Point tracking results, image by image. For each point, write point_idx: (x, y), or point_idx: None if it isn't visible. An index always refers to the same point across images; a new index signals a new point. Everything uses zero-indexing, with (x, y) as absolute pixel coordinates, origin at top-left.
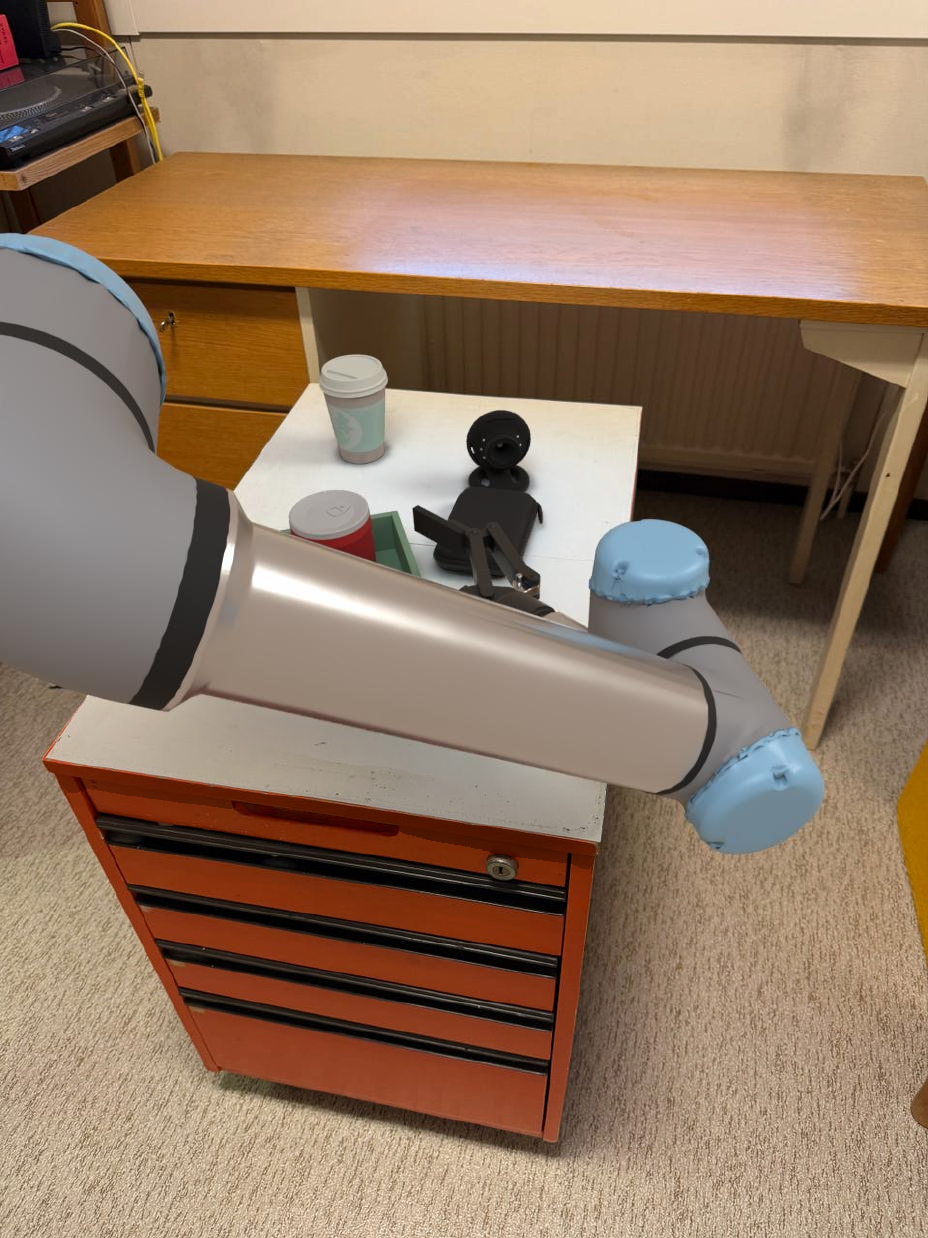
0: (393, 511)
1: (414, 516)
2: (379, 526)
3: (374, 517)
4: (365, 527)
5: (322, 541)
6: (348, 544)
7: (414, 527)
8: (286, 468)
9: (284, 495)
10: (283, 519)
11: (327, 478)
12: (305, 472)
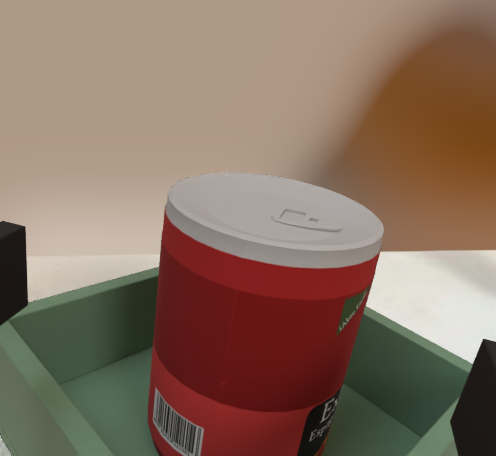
0: None
1: (473, 373)
2: (435, 379)
3: (436, 352)
4: (297, 282)
5: (171, 229)
6: (216, 283)
7: (455, 411)
8: (434, 267)
9: (393, 280)
10: None
11: (469, 303)
12: (450, 282)
